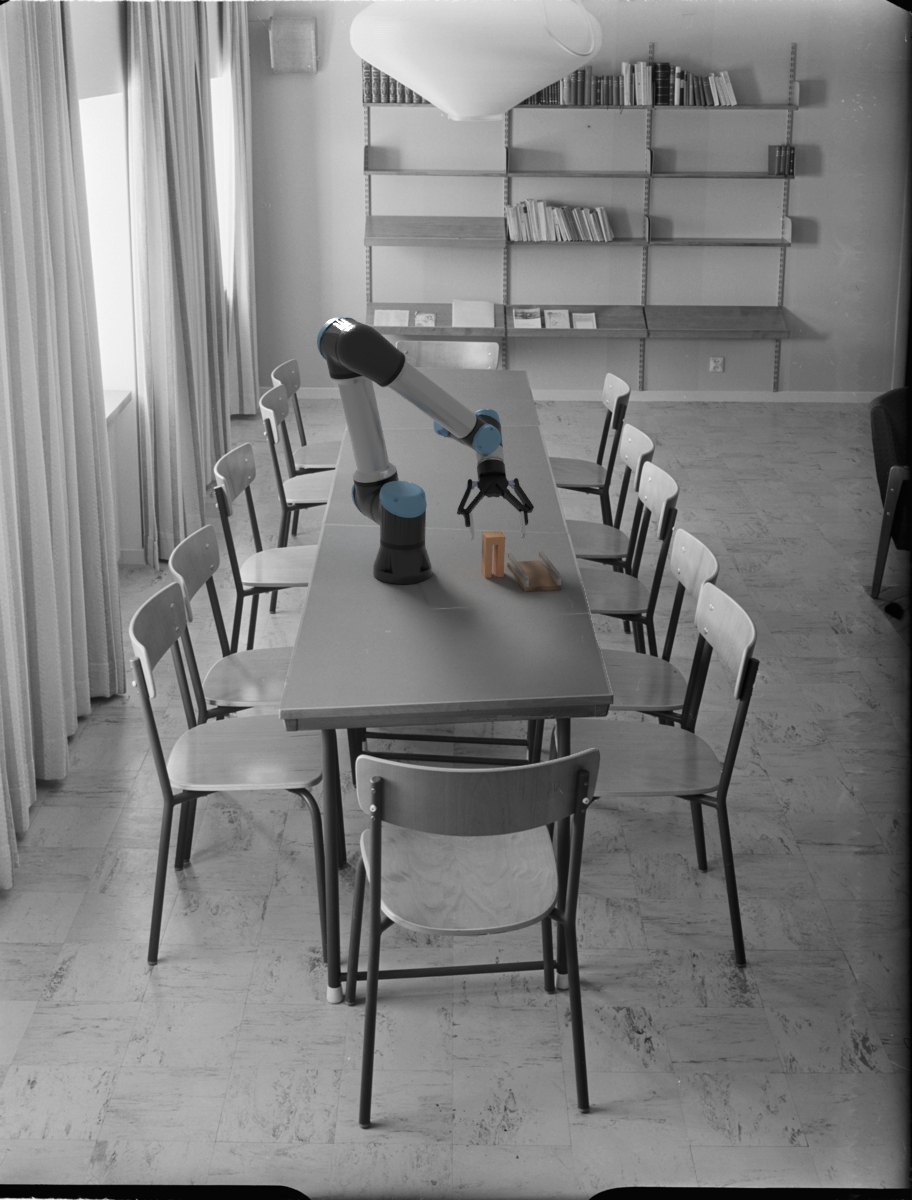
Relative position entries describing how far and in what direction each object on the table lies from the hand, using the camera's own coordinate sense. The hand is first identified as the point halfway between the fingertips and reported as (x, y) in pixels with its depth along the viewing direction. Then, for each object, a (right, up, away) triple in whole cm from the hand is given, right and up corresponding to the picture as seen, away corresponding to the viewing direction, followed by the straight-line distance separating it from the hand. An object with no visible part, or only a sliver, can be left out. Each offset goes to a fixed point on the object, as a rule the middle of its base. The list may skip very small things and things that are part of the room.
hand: (498, 537), depth 311 cm
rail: (+9, -11, -3) cm, 14 cm away
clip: (-2, -10, -1) cm, 10 cm away
